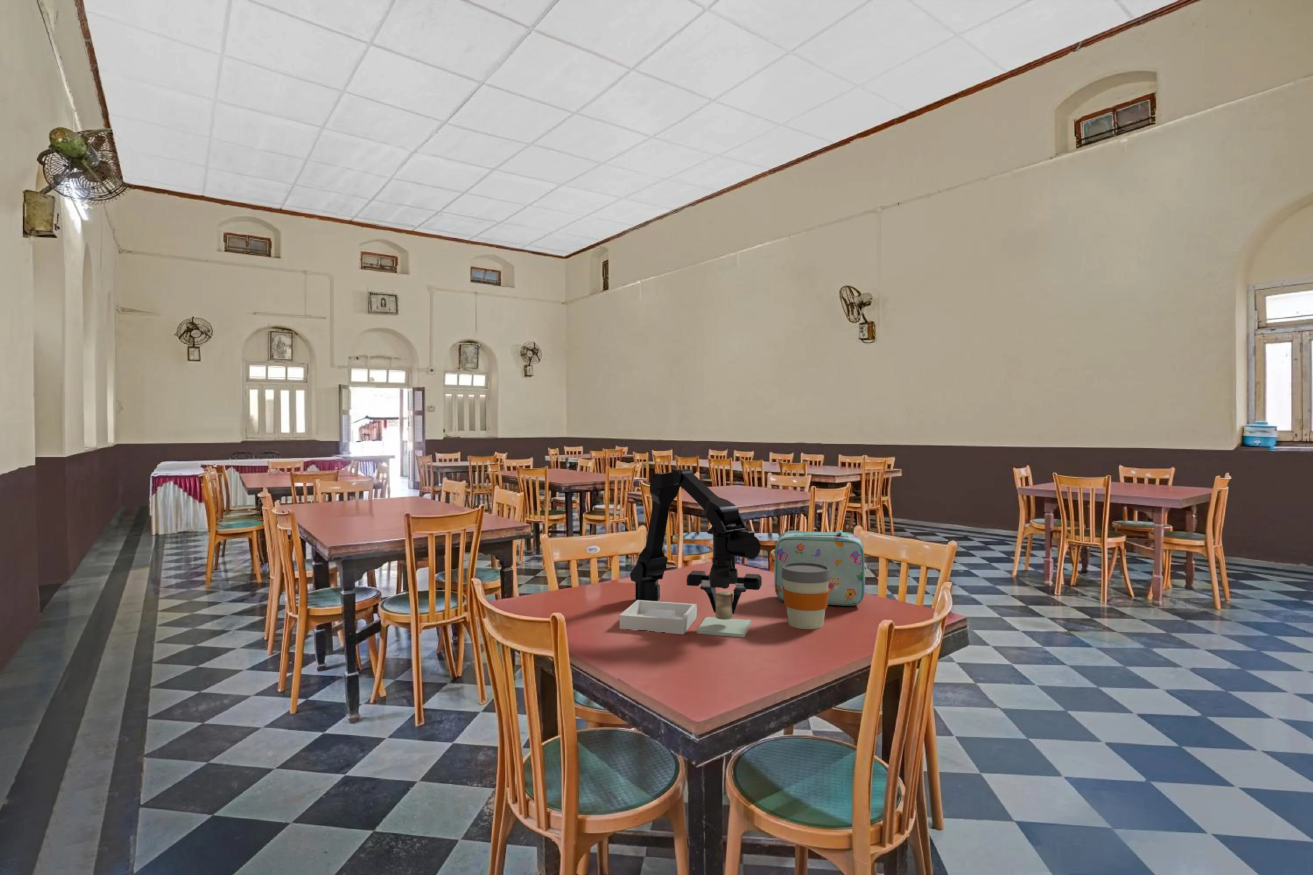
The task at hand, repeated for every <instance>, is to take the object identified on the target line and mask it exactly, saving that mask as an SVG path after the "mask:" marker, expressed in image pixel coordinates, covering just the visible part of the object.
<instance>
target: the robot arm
mask: <svg viewBox="0 0 1313 875" xmlns="http://www.w3.org/2000/svg"><path fill="white" fill-rule="evenodd" d="M649 481H650V482H649V494H650V496H651V499H652V508H651V513H650V514H651V515H650V520H649V525H648V530H647V537H646V543H645V546H644V548H643V549H642V550H641V552H640V553H639V554H638V557H637V560H636V564H635V565H634V567H633V569H632V570H631V572H629V577H630V581H631V582H634V583H635V584H634V585H635V599H634V600H633V603H634V602H635V601H637V600H645V601H659V600H660V598H661V584H659V580H663V578H664V574H665V571H667V568H668V567H667V564H668V561H669V558H668V556H665V553H664V551H663V550H664V549H663V547H664V541H665V535H666V530H667V526H668V525H667V524H668V519H669V513H670V508H671V504H672V503H673V502H674V500H676V497H678V493H679V491H680V488H682V489H683V490H684V491H685V492H686V494H688V495H689V496H690V497H691V498H692V499H693V500H694V501H695V502H696V503H697V504H698V505H699V506H700V507H701V508H702V510H704V511H703V512H704V516H705V518H706V520H707V521H708V523H709V524H710V525H711V527H710V528H709V529H708V530H706V532H707V534H709V535H712V565H711V567H710V570H709V571H710V572H709V574H707V573H706V571H705V570H692V571H691V572H689V574H688V575H686V586H691V587H699V586H700V588H699V589H700V590H701V591H704V592H705V593H706V594H707V597H708V599H709V602H710V605H711V608H712V612H713V613H714V614H716V593H717V591H716V588H718V589H720V588H721V589H723V590H725V589H729V588H730V585H734V586H735V587H734V589H733V605H732V614H733V615H735V612H736V610H737V607H738V603H739V600H740V598H741V596H742V593H746V592H747V590H748V591H749V590H750V591H751V590H752V591H759V590H760V589H761V587H762V586H763V584H762V583H763V581H762V580H763V577H762V575H761V574H760V573H759V574H757V573H745V575H744V576H743V577H742V576H739V574H738V573H739V572H738V568H736V557H739V558H743V559H747V560H754V559H756V558H757V557H758V556H759V555H760V552H761V548H762V547H761V546H762V545H761V543H760V540H759V538H758V536H757V537H756V535H755V531H754V530H748V528H747V525H746V523H745V521H744V519H743V518H742V517H743V516H742V515H741V513H740V510H739V507H737V504H734V503H732V502H731V501H729V500H728V499H725V498H722V497H720V496H718V495H716V494H715V493H714V492H713V491H712V489H710V488H709V487H708V486H707V485H706V484H705V483H704V482H702V480H701V479H699V477H697V475H695V473H694V471H693V470H692V469H689V468H684V469H682V468H681V469H676V470H673V471H672V472H660V473H658V472H657V473H654V474H652V475H651V477H650V480H649Z"/></svg>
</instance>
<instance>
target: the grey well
mask: <svg viewBox="0 0 1313 875" xmlns="http://www.w3.org/2000/svg"><path fill="white" fill-rule="evenodd" d="M697 606H698V605H697V603H686V602H671V601H659V600H658V601H645V600H637V601H635V602H634V601H633V602H632V604H631V605H630V606H629V607H626V609H625V610H624V611H622V612H621V613H620V614H619V629H620V628H621V629H620V630H626V629H637V630H649V631H655V632H654V633H661V632H665V633H664V634H674V635H684V634H685V633H686V632H687V631H688V629H689V628H690V627H691V626H692V624H693V623H694V622H695V620H696V619H697V618H698V612H697V611H698V610H697V608H698V607H697ZM690 625H691V626H690ZM637 630H636V631H637ZM649 631H648V632H649Z"/></svg>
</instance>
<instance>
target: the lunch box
mask: <svg viewBox="0 0 1313 875" xmlns="http://www.w3.org/2000/svg"><path fill="white" fill-rule="evenodd" d="M864 550H865V549H864V545H863V541H862V539H861V538H860V537H859V536H858V535H857V534H854V533H851V532H847V531H844V532H843V530H841V529H840V530H837V531H827V532H826V531H805V530H788V531H785V532H783V533H781V534H780V535H779V537H778V539H777V541H776V544H775V549H774V579H773V580H774V592H775V595H776V596H777V597H778V598H779V599H780V600H782V601H784V596H783V586H784V584H783V578H782V577H781V576H782V567H783V565H785V564H788V563H796V562H807V563H817V564H822V565H825V566H828V567H829V570H830V580H829V584H828V589H829V597H828V605H827V606H829V605H830V606H831V605H832V606H842V607H843V606H846V607H849V606H858V605H859V604H860V603H861V602H863V599H864V596H865V586H866V584H865V582H866V581H865V580H866V572H869V569H868V567H867V564H866V563H865V551H864Z"/></svg>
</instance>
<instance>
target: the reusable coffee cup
mask: <svg viewBox="0 0 1313 875" xmlns="http://www.w3.org/2000/svg"><path fill="white" fill-rule="evenodd" d="M781 577H782V578H783V584H784V586H783V596H784V600H783V601H784V602H783V603H784V606H785V607H786V614H787V620H788V622H787V623H788V625H789V626H790V627H793V628H796V629H801V630H818V629H821V628H823V627H824V624H825V623H824V622H825V614H826V609H827V608H828V606H829V605H828V597H829V589H828V584H829V580H830V570H829V567H828V566H825V565H822V564H817V563H807V562H796V563H788V564H785V565H783V567H782V576H781Z"/></svg>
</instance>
